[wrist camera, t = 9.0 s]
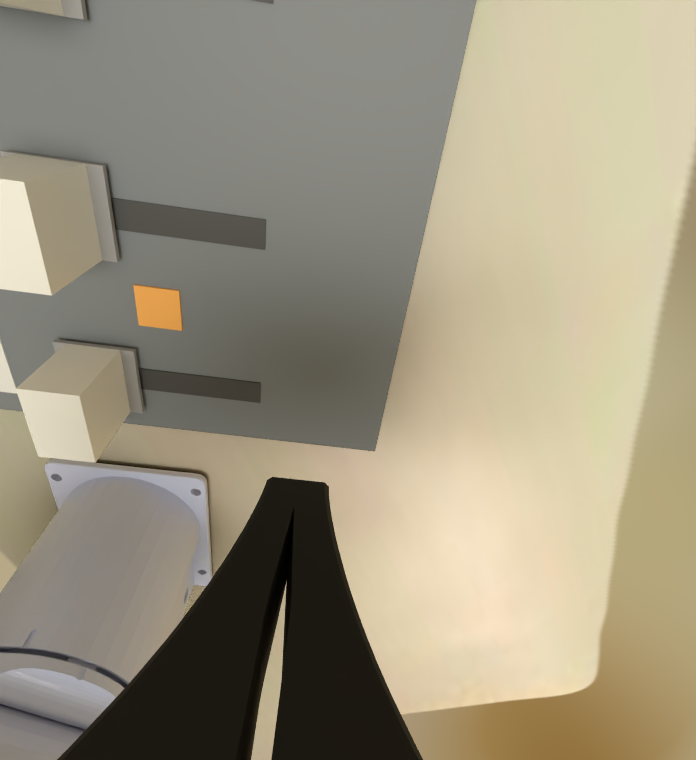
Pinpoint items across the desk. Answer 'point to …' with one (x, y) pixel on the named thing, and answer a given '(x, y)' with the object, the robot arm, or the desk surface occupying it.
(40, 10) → the block
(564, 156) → the desk surface
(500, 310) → the desk surface
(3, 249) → the block
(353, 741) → the robot arm
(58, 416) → the breaker handle
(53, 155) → the panel
